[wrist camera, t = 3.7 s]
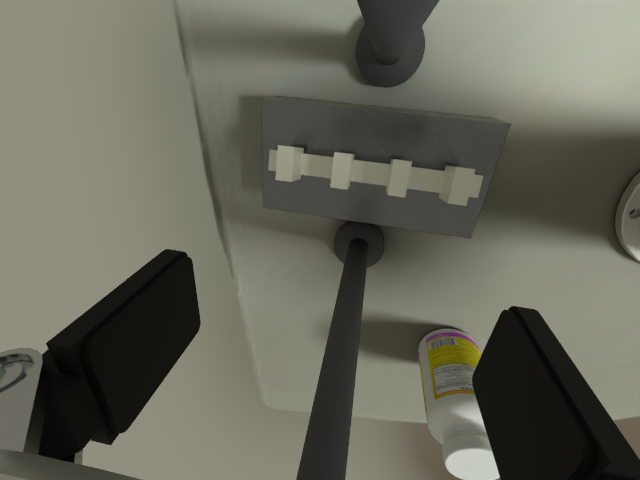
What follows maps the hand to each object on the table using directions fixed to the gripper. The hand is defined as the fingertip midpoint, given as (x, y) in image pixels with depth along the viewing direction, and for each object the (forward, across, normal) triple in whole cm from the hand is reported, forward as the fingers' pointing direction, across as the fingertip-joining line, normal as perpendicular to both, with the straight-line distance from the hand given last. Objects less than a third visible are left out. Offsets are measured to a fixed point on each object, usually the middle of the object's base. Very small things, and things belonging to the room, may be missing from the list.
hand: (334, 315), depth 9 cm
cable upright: (+21, -1, +8) cm, 23 cm away
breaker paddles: (+17, -1, 0) cm, 17 cm away
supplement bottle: (+21, -13, +20) cm, 32 cm away
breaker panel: (+21, -1, 0) cm, 21 cm away
